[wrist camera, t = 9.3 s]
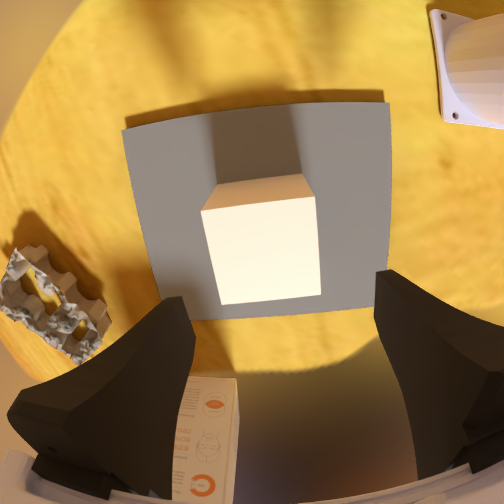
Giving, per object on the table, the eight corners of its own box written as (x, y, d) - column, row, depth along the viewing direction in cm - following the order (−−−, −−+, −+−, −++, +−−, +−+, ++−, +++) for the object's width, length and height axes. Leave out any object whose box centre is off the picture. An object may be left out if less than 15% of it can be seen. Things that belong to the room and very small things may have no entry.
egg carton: (11, 276, 24) (-13, 297, 20) (37, 226, 21) (7, 247, 17) (87, 351, 27) (69, 379, 23) (125, 316, 24) (106, 348, 21)
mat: (384, 102, 16) (389, 102, 15) (379, 299, 22) (382, 305, 21) (126, 129, 18) (121, 130, 17) (170, 314, 24) (167, 321, 23)
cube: (302, 173, 18) (314, 196, 13) (309, 251, 20) (320, 294, 15) (217, 184, 18) (200, 210, 14) (231, 259, 20) (221, 304, 16)
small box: (165, 409, 29) (136, 516, 18) (151, 370, 27) (108, 492, 15) (241, 415, 29) (231, 530, 17) (238, 376, 26) (223, 513, 15)
